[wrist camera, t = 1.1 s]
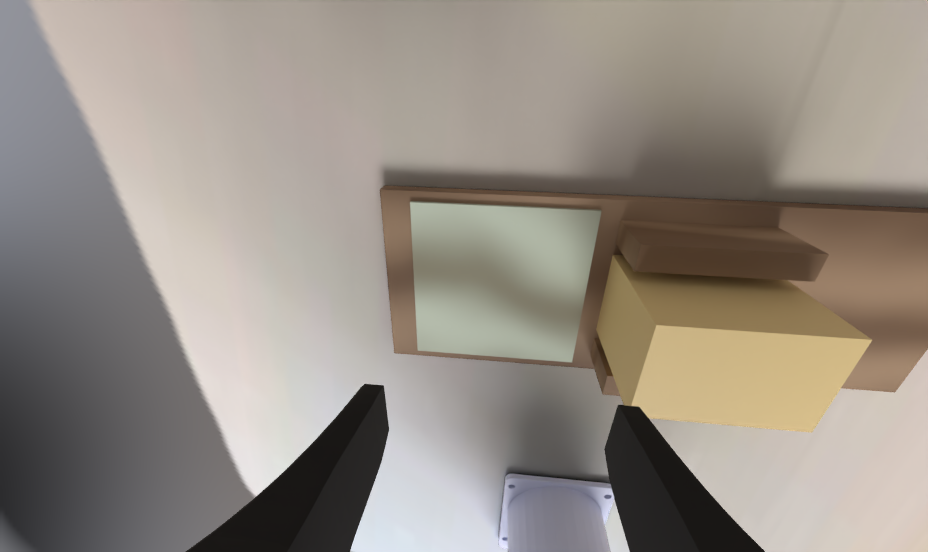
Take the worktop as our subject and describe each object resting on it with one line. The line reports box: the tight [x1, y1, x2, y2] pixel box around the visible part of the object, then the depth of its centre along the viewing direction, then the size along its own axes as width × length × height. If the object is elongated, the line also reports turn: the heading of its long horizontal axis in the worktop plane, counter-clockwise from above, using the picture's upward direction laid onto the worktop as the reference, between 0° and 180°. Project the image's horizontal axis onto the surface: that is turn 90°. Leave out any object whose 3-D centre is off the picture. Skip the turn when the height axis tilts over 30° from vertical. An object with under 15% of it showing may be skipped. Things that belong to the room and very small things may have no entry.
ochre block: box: [596, 255, 872, 432], centre depth 16 cm, size 4×7×6 cm, turn 89°
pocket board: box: [380, 186, 928, 396], centre depth 18 cm, size 10×28×4 cm, turn 89°
